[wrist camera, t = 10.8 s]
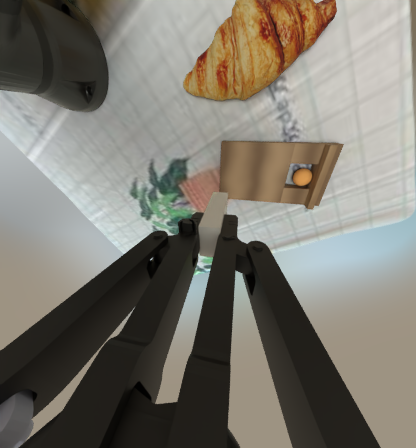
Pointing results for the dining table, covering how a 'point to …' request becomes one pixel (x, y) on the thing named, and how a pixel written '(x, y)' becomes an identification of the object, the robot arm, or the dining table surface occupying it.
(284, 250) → the dining table surface
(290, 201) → the wooden tray with slot
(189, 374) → the robot arm
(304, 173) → the ball
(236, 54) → the croissant
